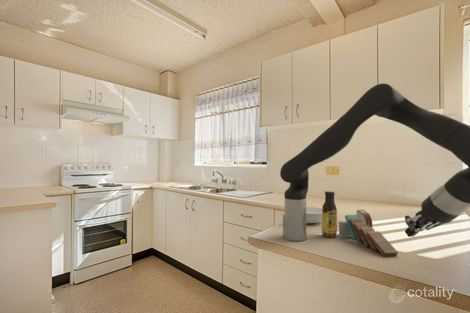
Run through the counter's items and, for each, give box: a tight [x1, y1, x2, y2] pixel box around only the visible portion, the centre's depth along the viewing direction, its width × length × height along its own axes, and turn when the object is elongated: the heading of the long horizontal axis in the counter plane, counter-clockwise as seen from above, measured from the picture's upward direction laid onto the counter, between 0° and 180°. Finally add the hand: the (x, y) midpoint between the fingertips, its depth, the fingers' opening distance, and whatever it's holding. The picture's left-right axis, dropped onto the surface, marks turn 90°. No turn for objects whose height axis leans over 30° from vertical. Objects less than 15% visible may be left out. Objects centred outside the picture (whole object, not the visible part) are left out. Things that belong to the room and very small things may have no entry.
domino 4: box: [359, 226, 380, 252], centre depth 89 cm, size 2×5×10 cm
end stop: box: [338, 220, 352, 237], centre depth 103 cm, size 3×9×6 cm, turn 97°
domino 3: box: [353, 223, 372, 248], centre depth 92 cm, size 2×5×10 cm
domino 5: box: [366, 230, 399, 257], centre depth 84 cm, size 2×5×10 cm
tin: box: [355, 209, 373, 228], centre depth 113 cm, size 15×3×8 cm, turn 168°
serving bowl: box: [306, 205, 322, 225], centre depth 126 cm, size 21×21×7 cm
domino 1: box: [344, 214, 358, 240], centre depth 100 cm, size 2×5×10 cm
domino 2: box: [348, 218, 364, 244], centre depth 96 cm, size 2×5×10 cm
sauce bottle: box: [321, 190, 338, 238], centre depth 102 cm, size 6×6×20 cm
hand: (408, 233), depth 73 cm, fingers closed
